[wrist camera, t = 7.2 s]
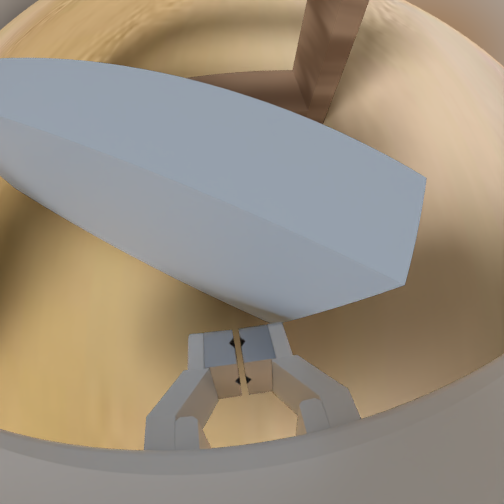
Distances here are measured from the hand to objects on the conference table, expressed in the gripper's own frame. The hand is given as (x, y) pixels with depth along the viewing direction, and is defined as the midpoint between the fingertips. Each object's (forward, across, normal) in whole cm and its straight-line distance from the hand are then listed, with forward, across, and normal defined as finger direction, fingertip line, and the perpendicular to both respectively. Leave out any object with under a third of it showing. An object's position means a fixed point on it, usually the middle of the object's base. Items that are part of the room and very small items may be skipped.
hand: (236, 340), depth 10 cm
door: (+8, +6, -2) cm, 10 cm away
